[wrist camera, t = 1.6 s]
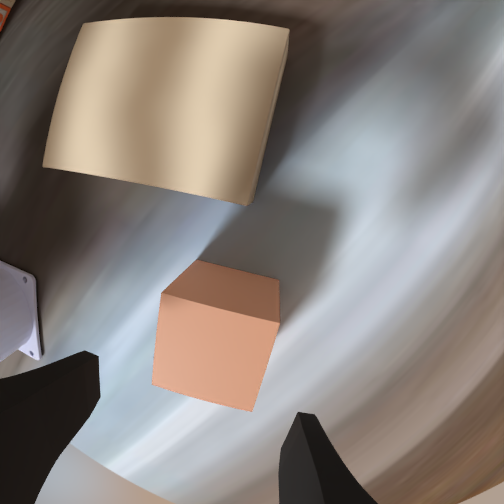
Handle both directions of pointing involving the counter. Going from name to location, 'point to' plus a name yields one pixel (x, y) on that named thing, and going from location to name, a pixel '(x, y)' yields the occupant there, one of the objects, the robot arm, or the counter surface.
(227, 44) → the birch block
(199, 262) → the terracotta block
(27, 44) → the counter surface
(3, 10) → the stack of blocks
